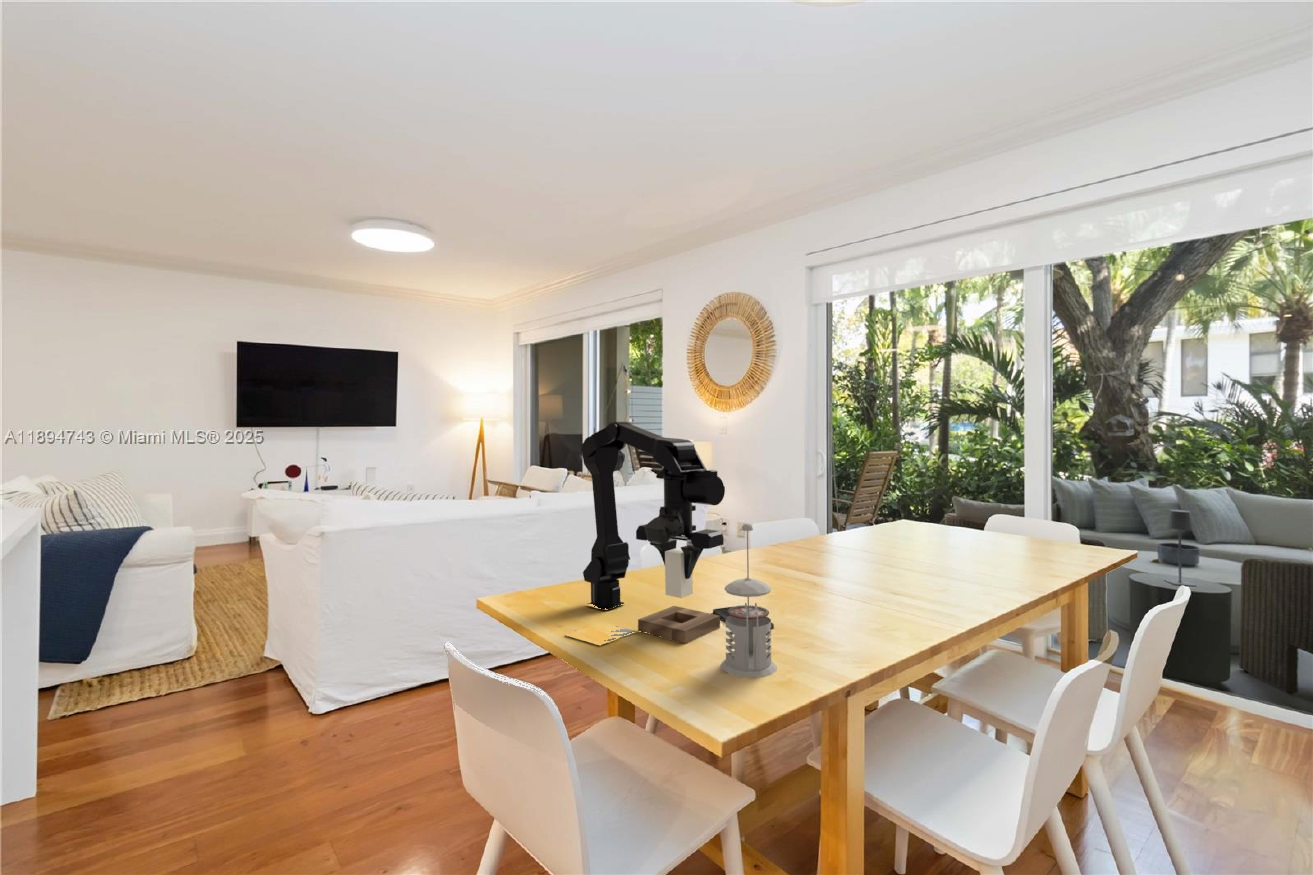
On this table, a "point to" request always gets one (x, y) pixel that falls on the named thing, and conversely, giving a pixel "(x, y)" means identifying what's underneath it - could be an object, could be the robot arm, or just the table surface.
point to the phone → (727, 614)
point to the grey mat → (621, 634)
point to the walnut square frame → (679, 624)
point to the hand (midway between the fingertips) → (679, 577)
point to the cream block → (676, 575)
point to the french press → (748, 630)
